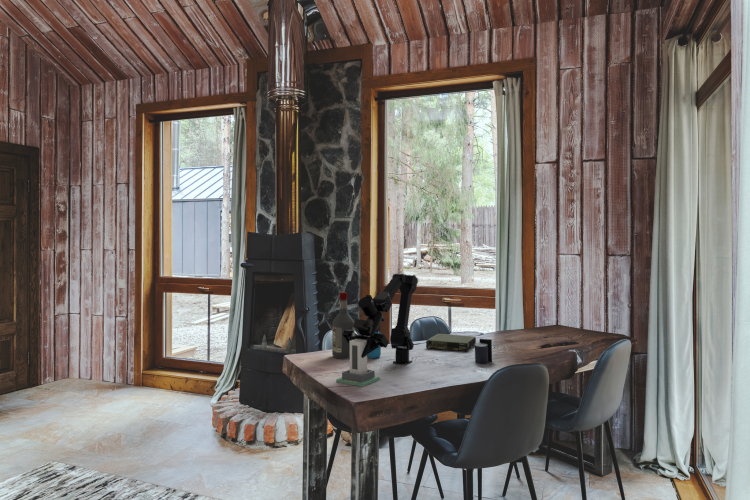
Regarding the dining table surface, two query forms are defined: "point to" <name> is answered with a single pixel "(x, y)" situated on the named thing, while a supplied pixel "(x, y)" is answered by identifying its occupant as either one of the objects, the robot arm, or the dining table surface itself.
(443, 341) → the network switch
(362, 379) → the green and grey tray
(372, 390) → the dining table surface
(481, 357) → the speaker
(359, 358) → the white rectangular block
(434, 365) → the dining table surface
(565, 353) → the dining table surface
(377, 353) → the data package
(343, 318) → the liquor
